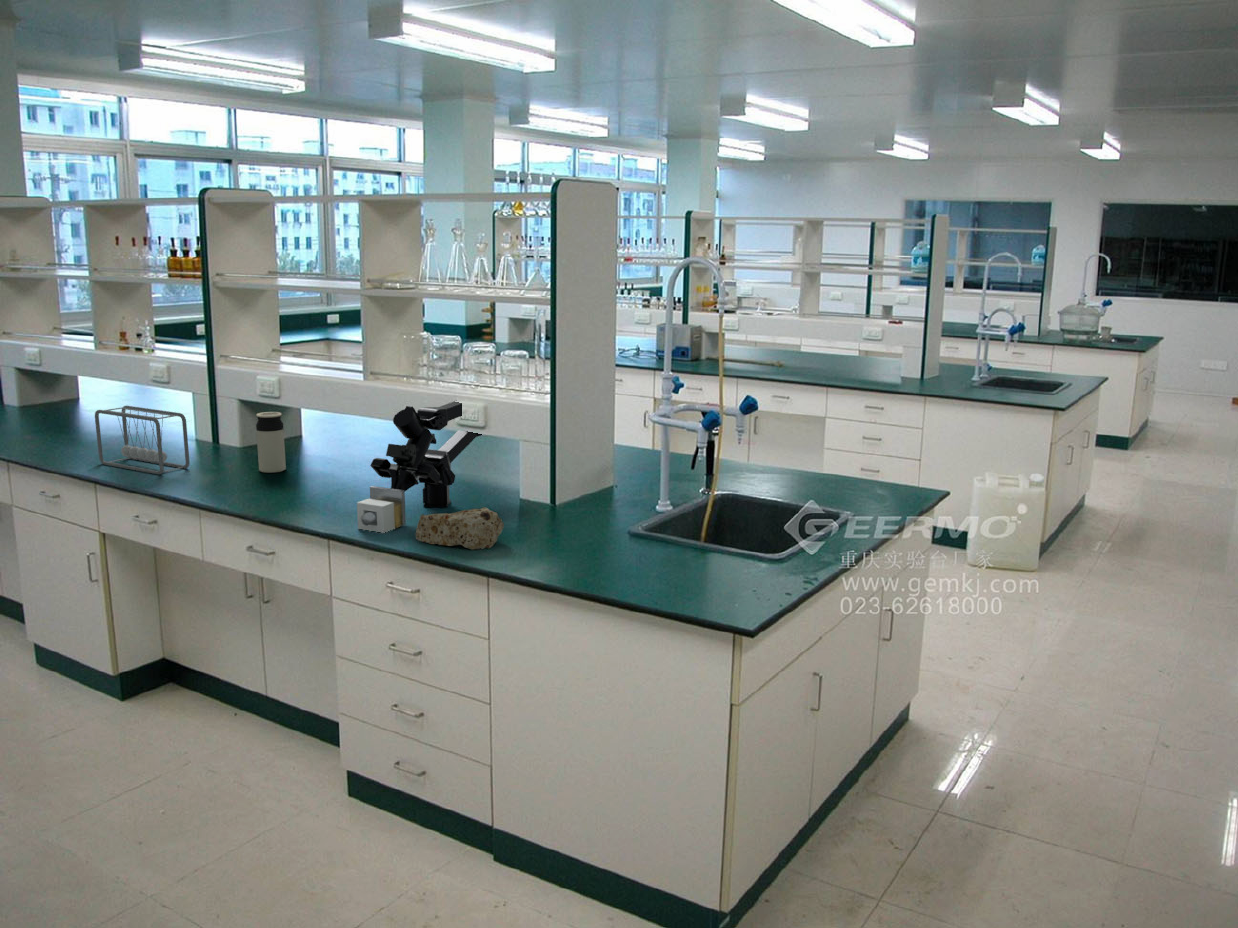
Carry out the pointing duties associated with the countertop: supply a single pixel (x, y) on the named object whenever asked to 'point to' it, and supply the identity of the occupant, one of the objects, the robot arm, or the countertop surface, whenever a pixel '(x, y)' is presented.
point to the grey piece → (385, 495)
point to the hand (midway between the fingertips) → (392, 498)
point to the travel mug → (270, 442)
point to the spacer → (397, 515)
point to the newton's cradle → (142, 452)
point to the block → (383, 515)
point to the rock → (461, 528)
